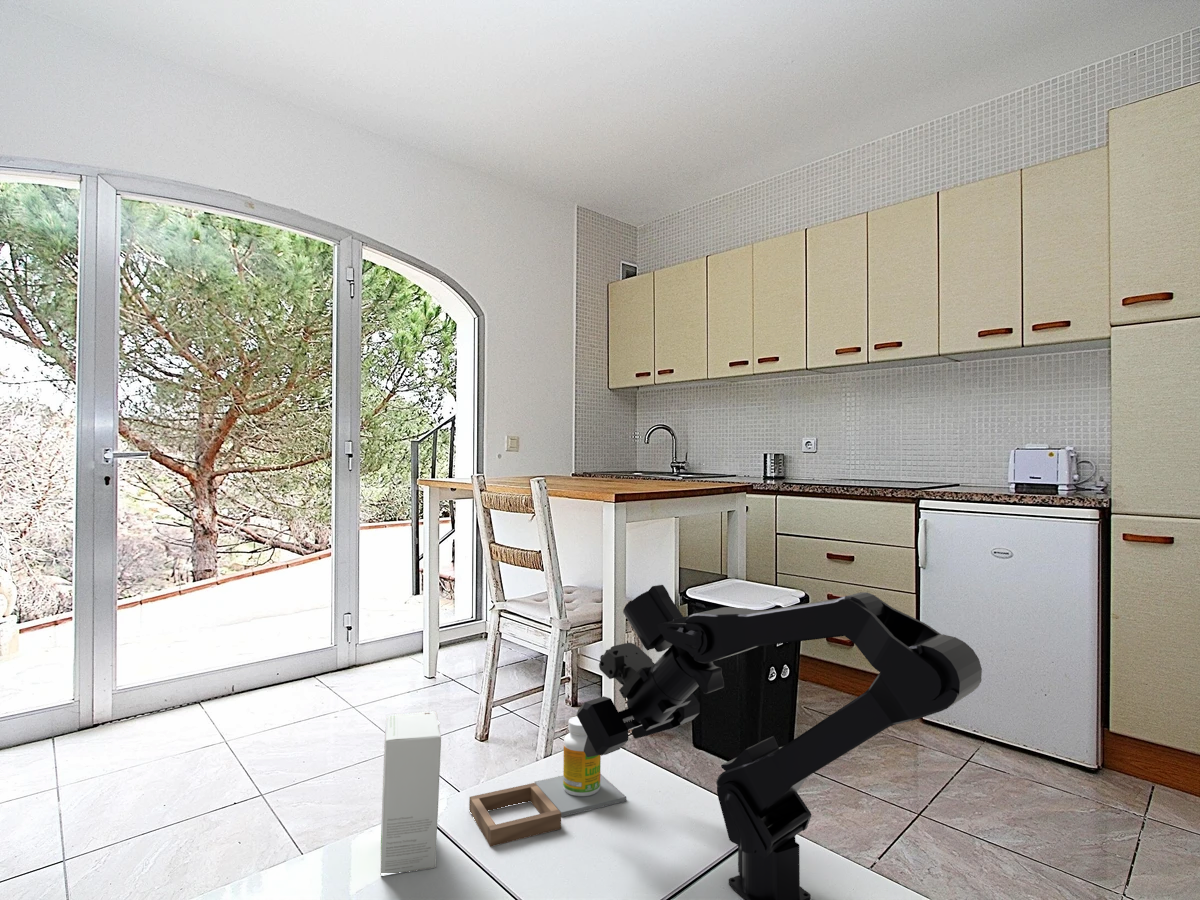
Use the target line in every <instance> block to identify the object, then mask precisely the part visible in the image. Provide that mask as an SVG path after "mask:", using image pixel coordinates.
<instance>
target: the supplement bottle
mask: <svg viewBox="0 0 1200 900" xmlns="http://www.w3.org/2000/svg"><path fill="white" fill-rule="evenodd" d="M567 729H568V733H567V734H566V735H565V736H564V738H563V771H562V772H563V775H562V776H563V787H564V790H565V791H566V792H567V793H568V794H570V795H574V796H590V795H593V794H595V793H596V792H598V791H599V789H600V774H601V764H602V763H601V762H602V761H601V759H602V758H601V755H597V756H592V757H587V756H586V754H585V752H584V747H585V743H586V739H587V734H586V732H585V730H584V728H583V726H582V724H581V723H580V721H579V719H578V717H577V715H576V716H573V717H570V718H569V719H568V728H567Z"/></svg>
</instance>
